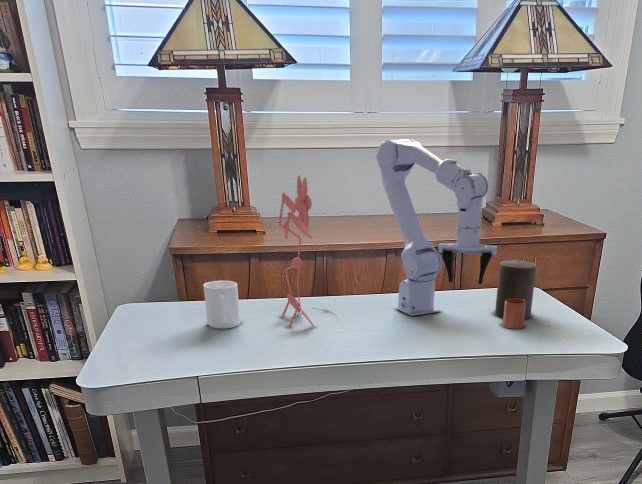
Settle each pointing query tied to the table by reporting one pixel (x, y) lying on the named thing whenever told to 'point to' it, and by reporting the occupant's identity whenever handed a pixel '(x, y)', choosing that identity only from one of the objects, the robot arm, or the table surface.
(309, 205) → the pink stick figure
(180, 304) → the table surface
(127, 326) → the table surface
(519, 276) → the pillar candle
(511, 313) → the terracotta pipe segment
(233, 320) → the cup
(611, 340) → the table surface
